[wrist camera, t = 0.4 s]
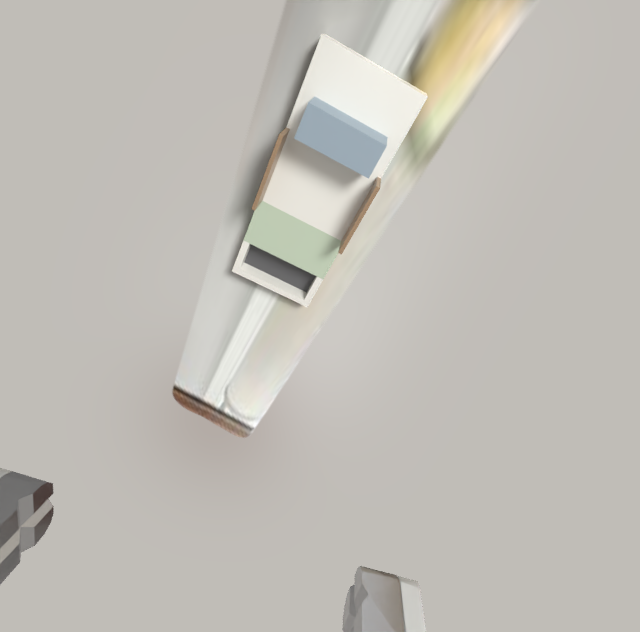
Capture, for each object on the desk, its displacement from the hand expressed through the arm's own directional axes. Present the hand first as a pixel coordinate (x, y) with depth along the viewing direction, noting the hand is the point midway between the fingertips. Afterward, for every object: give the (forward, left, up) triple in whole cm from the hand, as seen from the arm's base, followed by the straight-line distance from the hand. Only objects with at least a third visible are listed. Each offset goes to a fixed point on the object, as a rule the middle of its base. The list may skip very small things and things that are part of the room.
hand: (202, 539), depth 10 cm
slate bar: (+1, -1, -46) cm, 46 cm away
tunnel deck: (+9, +3, -48) cm, 49 cm away
